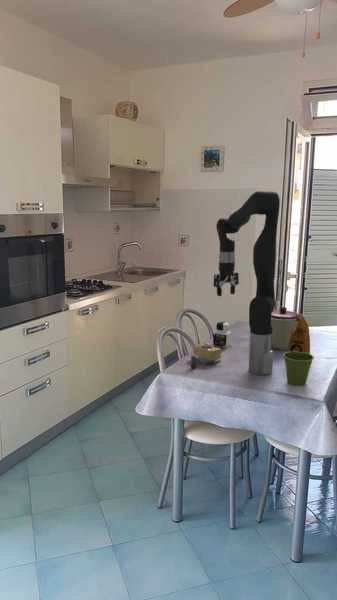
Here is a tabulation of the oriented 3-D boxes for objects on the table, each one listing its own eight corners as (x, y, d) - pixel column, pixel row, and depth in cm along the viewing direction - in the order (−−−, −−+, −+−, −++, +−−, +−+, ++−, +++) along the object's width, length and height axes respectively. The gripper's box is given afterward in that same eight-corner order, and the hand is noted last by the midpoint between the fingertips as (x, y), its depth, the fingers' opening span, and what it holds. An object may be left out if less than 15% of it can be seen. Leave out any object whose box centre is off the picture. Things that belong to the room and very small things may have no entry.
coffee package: (283, 365, 205) (286, 317, 201) (289, 358, 216) (292, 312, 212) (306, 369, 201) (309, 320, 197) (311, 361, 212) (314, 314, 207)
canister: (296, 343, 241) (298, 303, 237) (302, 353, 223) (305, 310, 219) (261, 341, 243) (262, 302, 239) (264, 352, 225) (266, 309, 221)
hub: (220, 361, 210) (220, 344, 209) (205, 365, 205) (206, 347, 203) (207, 356, 217) (207, 340, 216) (192, 360, 212) (192, 343, 210)
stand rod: (197, 368, 201) (197, 356, 200) (193, 369, 200) (193, 357, 199) (194, 366, 203) (194, 355, 202) (189, 367, 202) (190, 356, 201)
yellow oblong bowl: (220, 358, 208) (220, 349, 207) (210, 361, 204) (210, 351, 203) (203, 352, 217) (203, 343, 216) (193, 354, 214) (193, 345, 213)
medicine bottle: (212, 346, 234) (213, 323, 232) (218, 343, 240) (218, 320, 238) (226, 348, 231) (226, 325, 229) (231, 344, 237) (231, 322, 235)
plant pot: (282, 387, 180) (284, 359, 178) (280, 376, 191) (281, 350, 189) (314, 389, 178) (316, 361, 176) (310, 378, 190) (311, 352, 187)
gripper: (232, 259, 225) (231, 292, 228) (210, 261, 216) (209, 295, 219) (243, 261, 219) (242, 294, 222) (221, 262, 210) (220, 297, 213)
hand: (225, 294), depth 221 cm, fingers open, 8 cm apart
